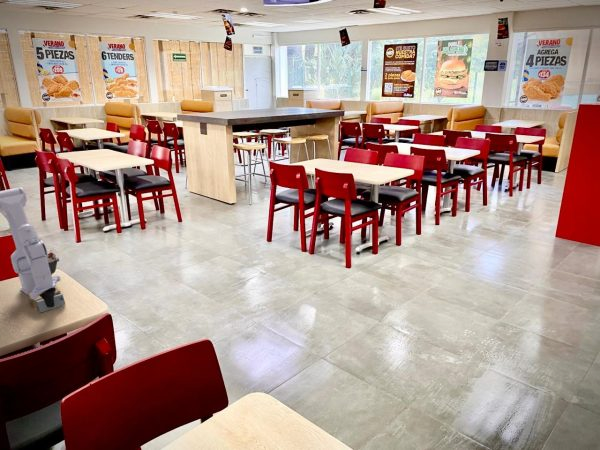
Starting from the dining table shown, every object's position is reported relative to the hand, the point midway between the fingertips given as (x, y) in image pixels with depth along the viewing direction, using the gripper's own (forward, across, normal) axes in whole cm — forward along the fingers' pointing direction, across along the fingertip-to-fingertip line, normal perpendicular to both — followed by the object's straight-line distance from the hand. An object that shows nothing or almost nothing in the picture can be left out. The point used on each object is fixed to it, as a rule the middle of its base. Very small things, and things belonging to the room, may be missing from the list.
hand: (51, 306), depth 170 cm
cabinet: (+2, +5, +6) cm, 9 cm away
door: (+2, +1, +1) cm, 2 cm away
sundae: (+1, +21, +15) cm, 26 cm away
